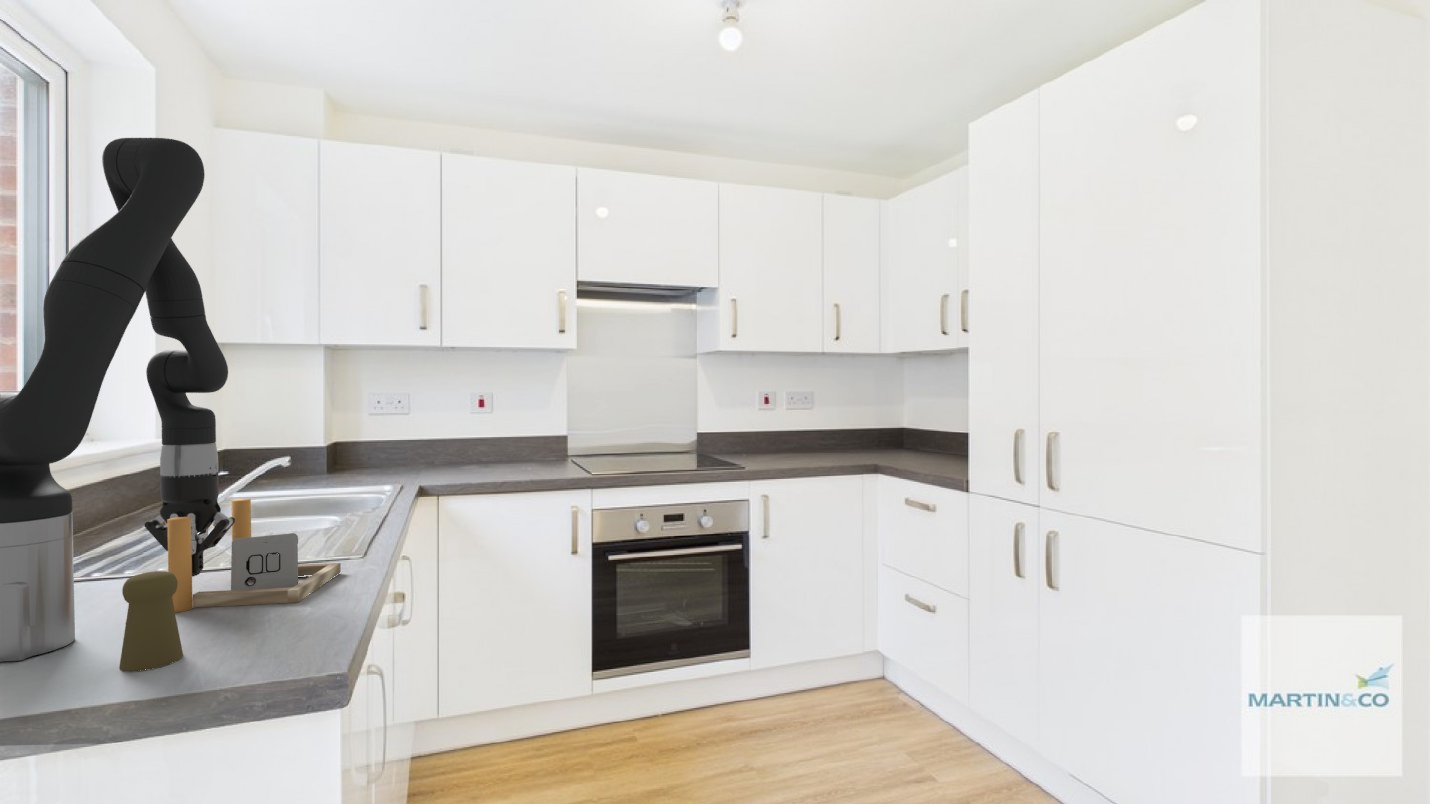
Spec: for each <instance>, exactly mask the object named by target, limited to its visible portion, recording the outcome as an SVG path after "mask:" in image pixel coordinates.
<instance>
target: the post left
mask: <svg viewBox="0 0 1430 804" xmlns="http://www.w3.org/2000/svg"><path fill="white" fill-rule="evenodd" d="M167 527H168V551H167V561H168V562H167V568H168V569H167V570H168V571H167V572H171V573H173V574H174V575H175V577H176V578H177V581H178V586H177V590H176V592H175V593H174V595H173V596H172V599H173V605H174V610H175V614H176V613H183V612H186V611H190V610H192V609H193V608H194V607H193V577H192V549H191V517H177V518H171V519H168V520H167Z"/></svg>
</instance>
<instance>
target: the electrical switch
mask: <svg viewBox="0 0 1430 804" xmlns="http://www.w3.org/2000/svg"><path fill="white" fill-rule="evenodd" d="M298 544H299V535H298V534H297V533H295V532H292V533H281V534H269V535H260V536H251V537H248V538H238V539H235V540H234V541H233V542H232V541H231V554H230V555H231V565H230V570H231V571H230V590H249V589H271V588H292V587H294V586H296V585H297V584H299V578H298V565H299V555H298V554H299V551H298V548H299V546H298ZM249 579H254V581H253V584H249V583H248V582H249V581H250V580H249Z"/></svg>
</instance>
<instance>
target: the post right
mask: <svg viewBox="0 0 1430 804" xmlns="http://www.w3.org/2000/svg"><path fill="white" fill-rule="evenodd" d="M251 505H252V501H251V498H240V499H232V500H231V517H233V518H235V523H234V524H233V525H232V526H231V543H232V542H233V541H234V540H235V539H238V538H248V537H252V506H251Z"/></svg>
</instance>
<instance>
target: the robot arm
mask: <svg viewBox="0 0 1430 804" xmlns="http://www.w3.org/2000/svg"><path fill="white" fill-rule="evenodd" d="M101 157H102V159H101V164H102V170H103V173H104V178H105V180H106V184H107V186H108V189H109V192H110V194H111V197H112V200H113V202H114V203H115V206H116V209H117V212H116V213H115V214H114V215H113V216H112V217H110V218H109V219H108V220H107V221H105V222H103V224H101V225H99V226H98V227H97V228H96V229H94V230H93V231H91V232H90V233H89V234H87V235H86V236H85V237H83V238H82V239H81V240H80V241H79V242H77V243H76V244H75V245H74V246H72V248H71V249H70V250H69V251H68V252H67V254H66V255H65V256H64V258H63V259H62V261H61V263H60V264H59V266H58V267H57V270H56V272H55V274H54V275H53V277H52V279H51V281H50V283H49V284H48V287H47V289H46V291H45V292H46V293H45V295H44V300H43V307H42V309H43V326H44V343H43V349H42V353H41V355H40V357H39V359H38V362H37V364H36V365H35V368H33V371H32V372H31V374H30V376H29V378H28V379H27V380H26V382H25V384H24V386H23V387H22V388H21V390H20V391H19V392H17V393H16V392H15V393H14V392H13V393H11V392H10V393H9V392H7V393H0V662H16V661H18V662H19V661H23V660H25V659H28V658H30V657H34V656H37V655H41V654H45V653H48V652H52V651H55V650H57V649H58V650H59V649H61V648H63V647H65V646H67V645H70V644H71V643H73V642H74V641H75V639H76V630H75V629H76V622H75V621H76V620H75V619H76V618H75V615H76V614H75V575H74V530H73V529H74V525H73V524H74V523H73V522H74V521H73V520H74V519H73V497H72V494H71V492H69V491H68V489H66V488H65V487H63V486H61V485H60V484H59V483H58V482H57V481H56V480H55V478H54V477H53V475H52V472H51V468H50V467H51V466H50V464H55V463H58V462H59V461H62V460H64V459H66V458H67V457H69V456H70V455H71V454H72V453H74V452H75V450H76V449H78V448H79V446H80V445H81V443H82V442H83V439H84V438H85V436H86V433H87V431H88V428H89V425H90V423H91V421H92V416H93V413H94V410H95V407H96V404H97V402H98V397H99V395H100V391H101V388H102V385H103V382H104V380H105V377H106V374H107V371H108V369H109V367H110V365H111V363H112V360H113V359H114V356H115V354H116V353H117V350H118V349H119V347H120V344H121V341H122V339H123V337H124V334H125V332H126V330H127V328H128V326H129V324H130V323H131V321H132V319H133V317H134V316H135V314H136V311H137V309H138V308H139V305H140V303H141V301H142V299H143V297H144V294H145V297H146V303H147V306H148V312H149V316H150V317H149V318H150V323H151V327H152V329H153V331H154V333H155V334H157V335H159V336H162V337H167V338H171V339H174V340H176V341H178V342H179V343H180V344H181V345H182V346H183V347H184V349H185V350H184V349H181V350H179V349H177V350H174V349H170V350H169V349H165V350H160V351H158V352H156V353H154V355H153V356H152V357H150V359H149V361H148V363H147V366H146V370H145V371H146V372H145V373H146V379H147V384H148V386H149V389H150V392H151V395H152V397H153V400H154V402H155V405H156V409H157V412H158V415H159V417H160V422H161V444H162V445H161V451H160V455H159V456H160V457H159V458H160V460H159V467H160V468H159V469H160V471H159V473H160V474H159V475H160V476H159V477H160V500H161V502H162V506H161V508H160V509H159V515H157V516H156V517H155V518H153V519H152V520H150V521H149V520H148V521H145V523H144V527H145V529H146V530H147V531H148V533H150V535H152V536H153V538H154V539H155V540H156V542H158V543H159V545H160V546H162V548H163V549H164V550H165V552H166V551H167V552H168V527H167V520H168V519H171V518H177V517H191V549H192V578H193V577H195V576H198V575H200V573H201V572H202V571H203V569H204V552H205V551H206V550H208V549H211V548H214V547H216V546H218V544H219V542H220V541H221V540H222V539H223V538H224V536H225V535H226V534H227V533H228V531H229V530H230V529H232V525H233V524H234V523H235V518H233V517H232V516H227V515H225V514H224V513H222V512H221V510H222V508H221V505H220V504H219V503H218V502H219V501H218V499H219V495H220V490H219V484H220V483H219V481H220V480H219V467H220V465H219V453H218V448H217V430H216V429H217V428H216V427H217V426H216V425H217V424H216V423H217V421H216V414H215V413H214V411H213V410H211V409H209V408H206V407H202V406H197V405H194V404H192V403H191V402H190V400H189V398H188V396H187V394H197V393H199V394H209V393H211V394H212V393H217V392H218V391H220V390H221V389H222V388H223V387H224V386H225V385H226V383H227V381H228V378H229V377H228V376H229V367H228V362H227V359H226V358H225V355H224V354H223V352H222V350H221V348H220V346H219V344H218V343H217V340H216V338H215V336H214V334H213V332H212V330H211V328H210V326H209V323H208V321H207V317H206V316H207V315H206V311H205V305H204V304H205V303H204V299H203V294H202V288H201V285H200V281H199V279H198V277H197V275H196V273H195V270H193V267H192V266H191V265H190V263H189V262H188V261H187V259H186V258H185V256H184V255H183V253H182V252H181V251H180V249H179V248H178V247H177V244H175V242H174V240H173V238H172V237H173V236H174V234H175V232H176V231H177V229H178V228H179V226H180V224H182V221H183V220H184V218H185V217H186V216H187V214H188V213H189V211H190V210H191V208H192V206H193V205H194V204H195V203H196V202H197V201H196V200H197V199H198V197H199V196H200V194H201V192H202V190H203V186H204V181H205V168H204V167H205V166H204V163H203V161H202V158H201V156H200V154H199V153H198V151H197V150H196V149H195V148H193V147H192V146H191V145H189V144H188V143H187V142H185V141H181V140H178V139H174V138H167V137H166V138H165V137H121V138H116V139H114V140H112V141H109V143H108V144H107V145H106V146H105V147H104V149H103V152H102V156H101ZM211 525H213V529H212V530H211V531H210V532H209V528H210V527H211Z"/></svg>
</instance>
